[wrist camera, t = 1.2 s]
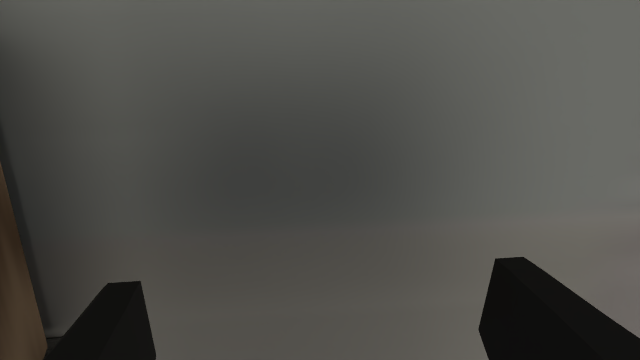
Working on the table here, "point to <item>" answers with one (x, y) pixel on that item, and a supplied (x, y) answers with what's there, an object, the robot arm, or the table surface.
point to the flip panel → (16, 292)
